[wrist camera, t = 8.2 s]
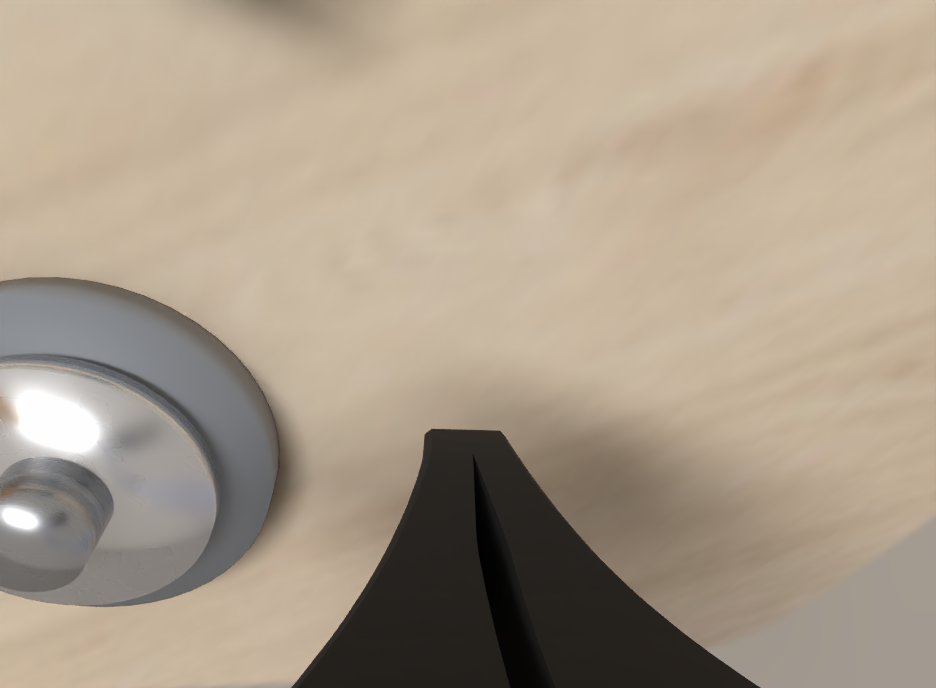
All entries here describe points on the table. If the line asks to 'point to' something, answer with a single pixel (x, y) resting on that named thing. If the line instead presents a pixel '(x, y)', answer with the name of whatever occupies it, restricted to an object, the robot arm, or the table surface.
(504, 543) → the robot arm
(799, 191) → the table surface
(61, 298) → the post base
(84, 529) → the flange
